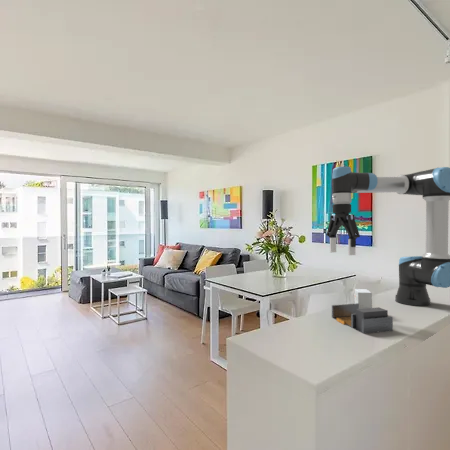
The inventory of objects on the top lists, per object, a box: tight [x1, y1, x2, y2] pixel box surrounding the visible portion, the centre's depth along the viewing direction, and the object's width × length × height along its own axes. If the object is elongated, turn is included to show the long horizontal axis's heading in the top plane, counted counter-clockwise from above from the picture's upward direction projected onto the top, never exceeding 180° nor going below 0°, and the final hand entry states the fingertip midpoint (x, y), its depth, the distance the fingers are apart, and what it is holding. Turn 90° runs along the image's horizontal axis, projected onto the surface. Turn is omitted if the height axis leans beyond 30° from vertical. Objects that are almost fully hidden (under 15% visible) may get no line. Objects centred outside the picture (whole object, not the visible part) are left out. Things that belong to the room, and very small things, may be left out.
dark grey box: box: [356, 307, 389, 331], centre depth 116 cm, size 10×4×7 cm, turn 103°
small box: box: [353, 288, 373, 309], centre depth 137 cm, size 8×6×10 cm
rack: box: [331, 303, 394, 334], centre depth 122 cm, size 13×20×6 cm, turn 13°
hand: (342, 253), depth 135 cm, fingers open, 13 cm apart
